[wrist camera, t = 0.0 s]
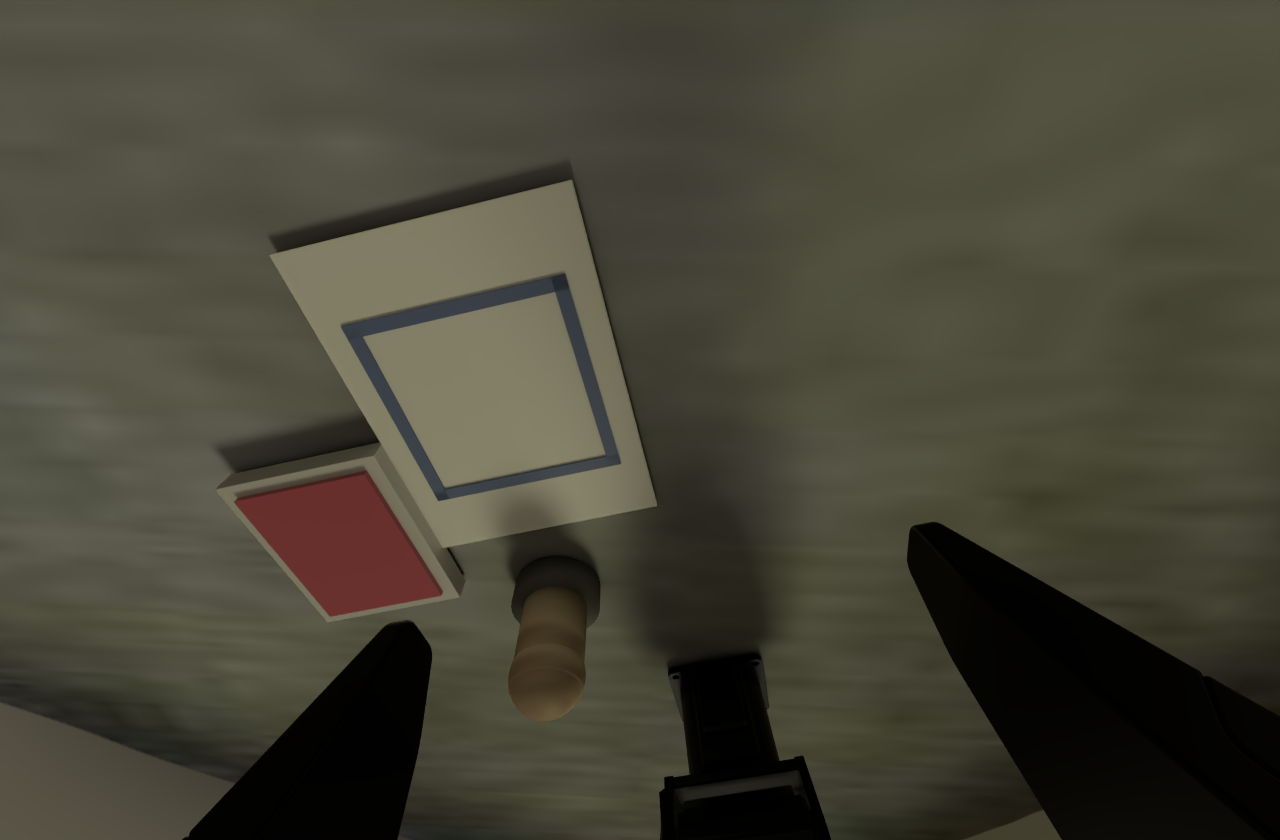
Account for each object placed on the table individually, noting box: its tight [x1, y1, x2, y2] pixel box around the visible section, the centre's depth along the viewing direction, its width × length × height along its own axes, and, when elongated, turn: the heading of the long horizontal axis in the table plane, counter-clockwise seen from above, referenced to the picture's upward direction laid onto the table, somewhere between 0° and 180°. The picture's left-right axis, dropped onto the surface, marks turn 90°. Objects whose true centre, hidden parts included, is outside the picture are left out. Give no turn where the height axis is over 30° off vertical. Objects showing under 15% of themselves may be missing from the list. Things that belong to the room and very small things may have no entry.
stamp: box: [508, 557, 600, 721], centre depth 27 cm, size 5×5×8 cm
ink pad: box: [215, 442, 466, 622], centre depth 26 cm, size 10×8×2 cm
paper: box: [269, 179, 657, 548], centre depth 23 cm, size 16×12×1 cm
